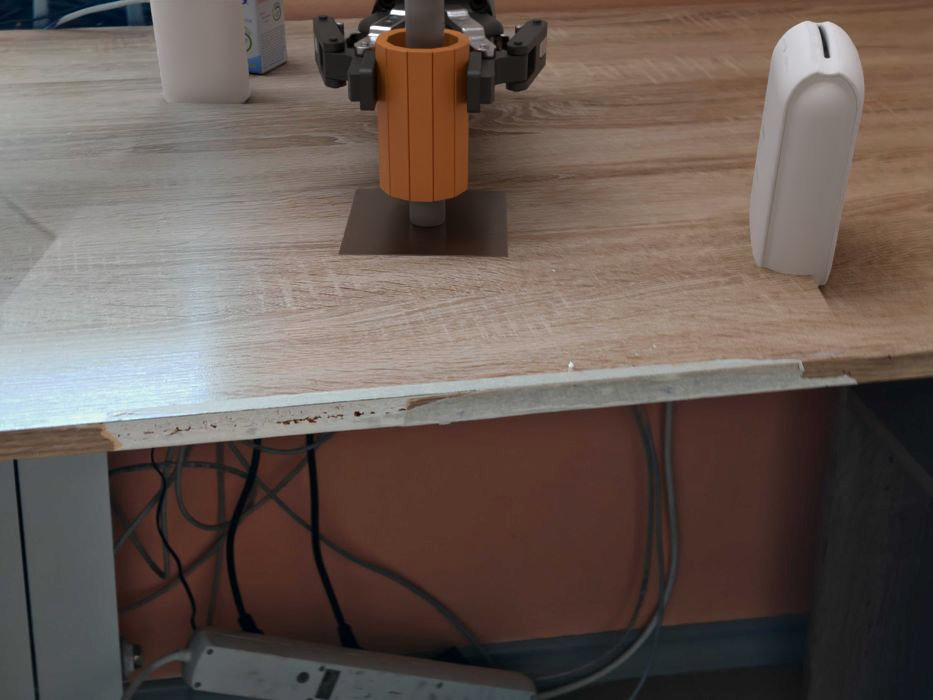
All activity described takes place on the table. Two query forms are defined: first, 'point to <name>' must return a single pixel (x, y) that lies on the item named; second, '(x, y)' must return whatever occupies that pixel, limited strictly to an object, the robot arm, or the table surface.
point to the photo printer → (805, 150)
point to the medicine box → (264, 34)
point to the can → (201, 51)
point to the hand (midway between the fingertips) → (420, 92)
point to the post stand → (427, 223)
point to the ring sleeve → (422, 117)
